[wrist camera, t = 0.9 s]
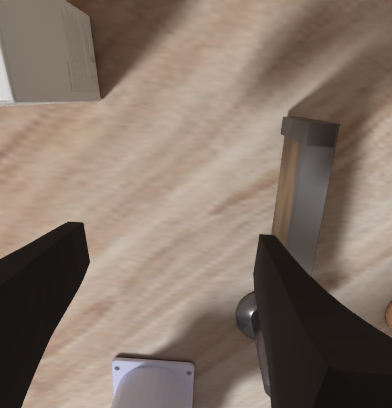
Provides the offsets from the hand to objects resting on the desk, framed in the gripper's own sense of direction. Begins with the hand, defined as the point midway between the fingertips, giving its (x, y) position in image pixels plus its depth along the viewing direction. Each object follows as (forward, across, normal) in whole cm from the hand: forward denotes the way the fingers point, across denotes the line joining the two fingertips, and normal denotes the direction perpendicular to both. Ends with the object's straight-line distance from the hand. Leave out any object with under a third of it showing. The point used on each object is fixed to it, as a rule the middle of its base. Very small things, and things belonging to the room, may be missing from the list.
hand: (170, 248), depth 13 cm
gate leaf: (+11, -7, +5) cm, 14 cm away
